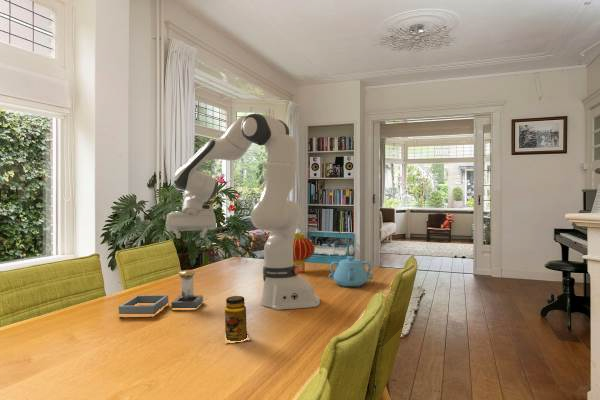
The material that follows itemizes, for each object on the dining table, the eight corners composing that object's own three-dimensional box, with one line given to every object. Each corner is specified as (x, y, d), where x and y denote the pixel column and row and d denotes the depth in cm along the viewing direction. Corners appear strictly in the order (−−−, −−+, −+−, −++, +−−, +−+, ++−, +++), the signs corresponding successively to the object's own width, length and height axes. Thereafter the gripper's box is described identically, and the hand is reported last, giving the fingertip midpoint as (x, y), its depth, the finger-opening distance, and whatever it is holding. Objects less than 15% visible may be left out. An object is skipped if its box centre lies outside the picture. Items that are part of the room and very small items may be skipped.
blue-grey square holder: (203, 303, 149) (202, 295, 148) (196, 310, 140) (196, 302, 139) (179, 303, 149) (179, 295, 149) (171, 310, 140) (171, 302, 140)
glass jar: (198, 304, 147) (197, 269, 147) (193, 309, 141) (192, 273, 141) (182, 304, 147) (181, 270, 147) (177, 309, 141) (176, 273, 141)
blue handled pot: (371, 280, 181) (371, 253, 180) (375, 291, 161) (375, 261, 161) (329, 280, 183) (328, 253, 182) (328, 291, 163) (327, 261, 162)
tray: (168, 305, 146) (168, 295, 146) (153, 317, 132) (153, 306, 132) (137, 305, 147) (136, 295, 146) (119, 317, 133) (118, 306, 132)
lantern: (278, 270, 208) (277, 214, 207) (309, 267, 213) (308, 213, 212) (287, 276, 192) (285, 216, 191) (319, 274, 197) (318, 215, 196)
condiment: (225, 345, 108) (224, 302, 107) (222, 334, 116) (221, 294, 115) (251, 341, 110) (250, 299, 109) (246, 331, 118) (245, 292, 117)
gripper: (166, 207, 161) (162, 232, 152) (216, 206, 165) (215, 231, 155) (168, 216, 166) (164, 242, 156) (217, 215, 169) (216, 240, 160)
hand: (190, 236), depth 156 cm, fingers open, 8 cm apart
